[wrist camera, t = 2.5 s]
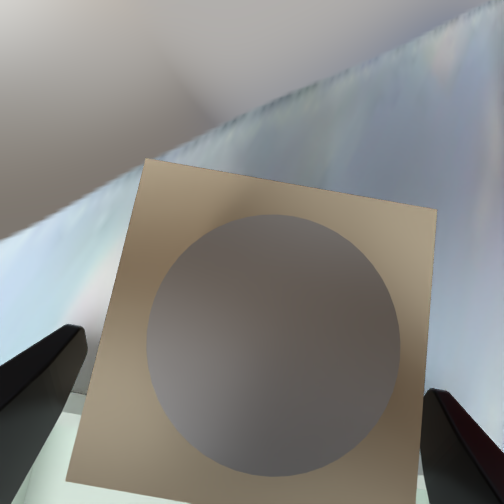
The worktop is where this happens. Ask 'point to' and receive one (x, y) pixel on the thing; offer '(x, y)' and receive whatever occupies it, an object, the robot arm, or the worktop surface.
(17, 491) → the robot arm
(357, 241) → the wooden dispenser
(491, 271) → the worktop surface
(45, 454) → the tray
